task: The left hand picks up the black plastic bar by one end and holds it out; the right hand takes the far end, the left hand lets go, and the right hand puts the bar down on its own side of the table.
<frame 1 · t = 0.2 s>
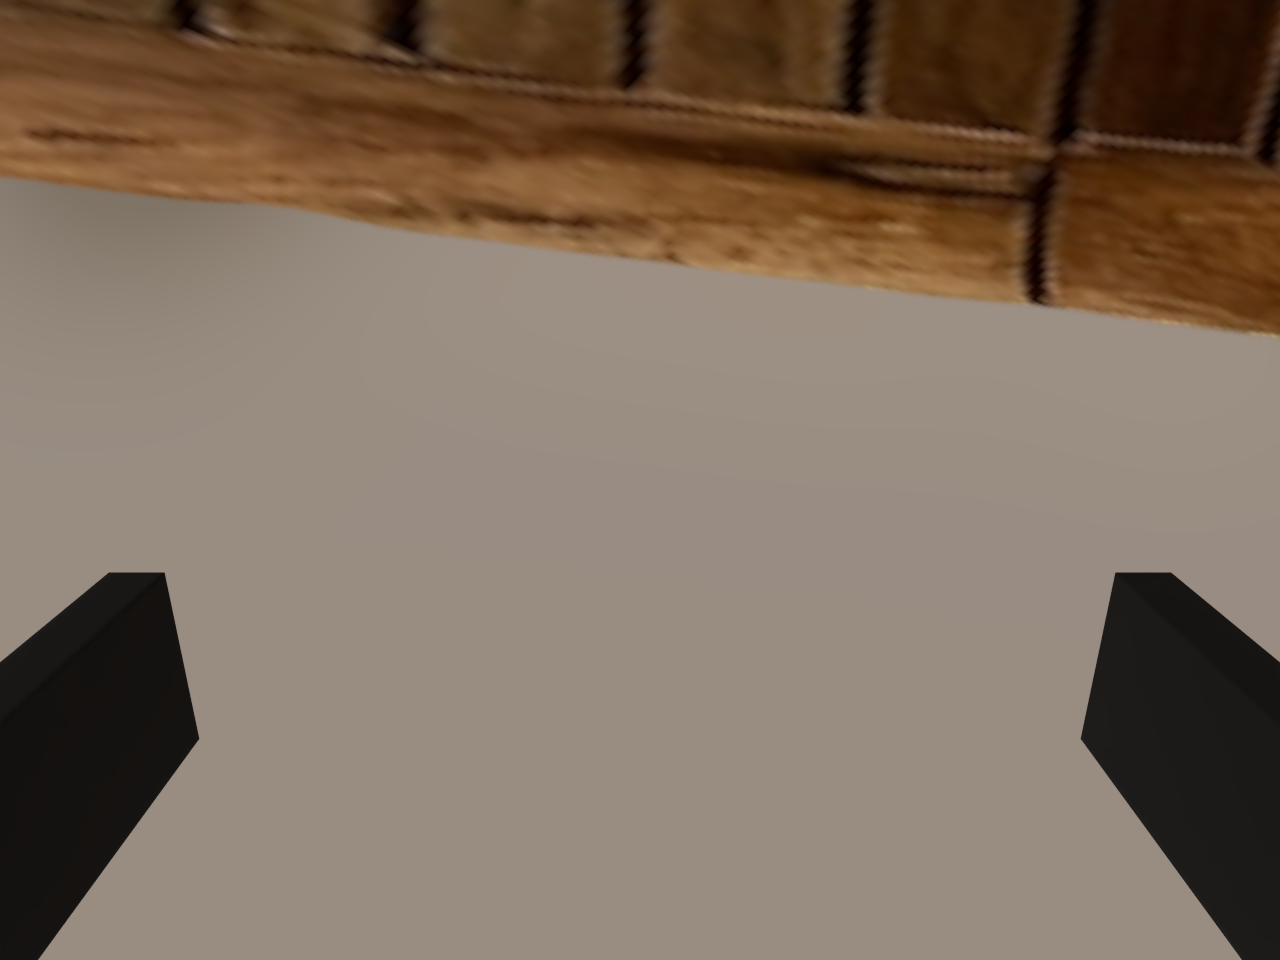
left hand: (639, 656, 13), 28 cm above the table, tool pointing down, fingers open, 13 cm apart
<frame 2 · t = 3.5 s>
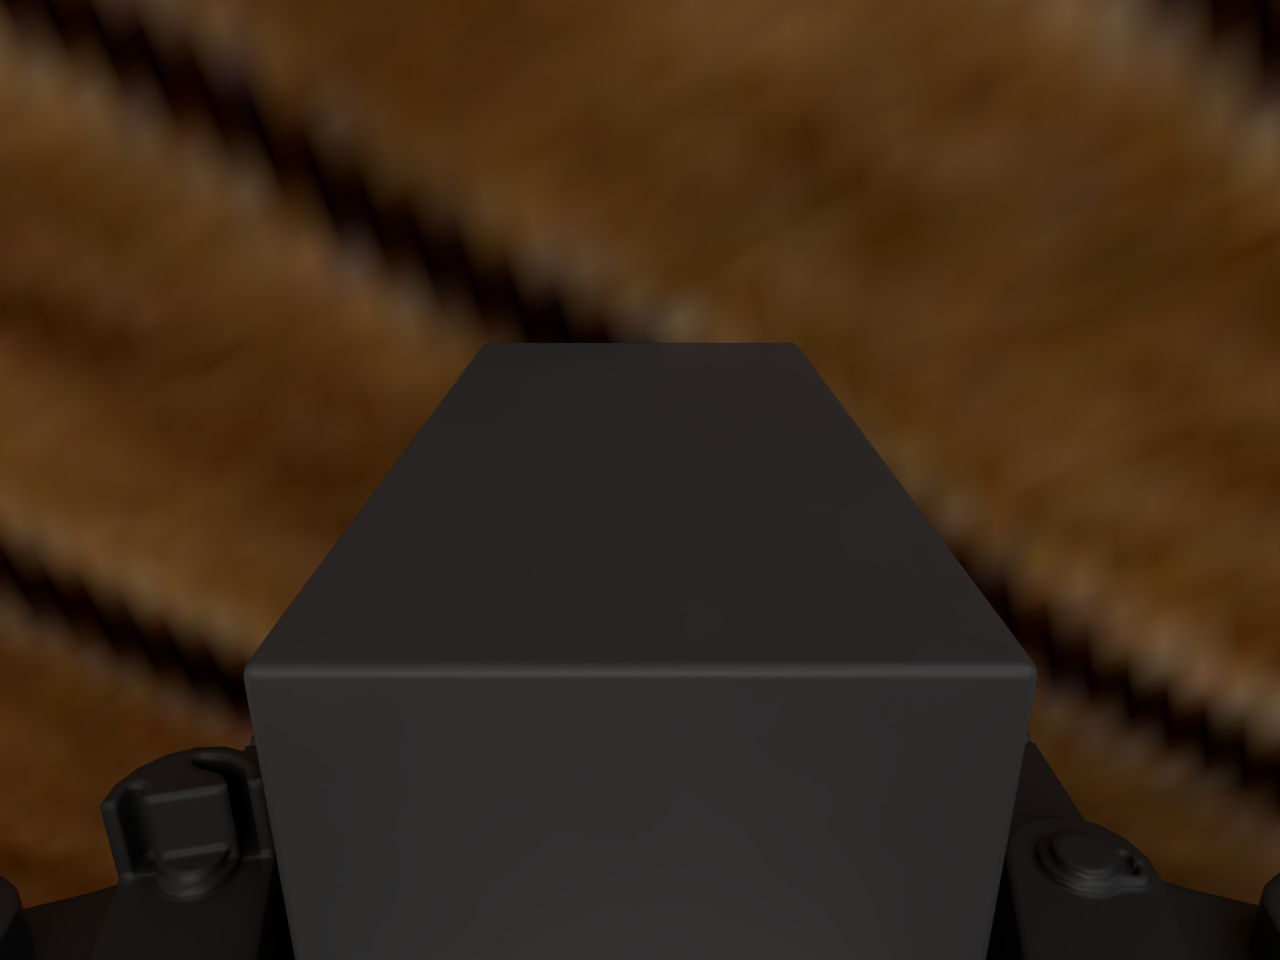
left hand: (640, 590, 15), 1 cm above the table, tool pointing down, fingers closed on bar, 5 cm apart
bar: (640, 944, 18), on the table, touching left hand
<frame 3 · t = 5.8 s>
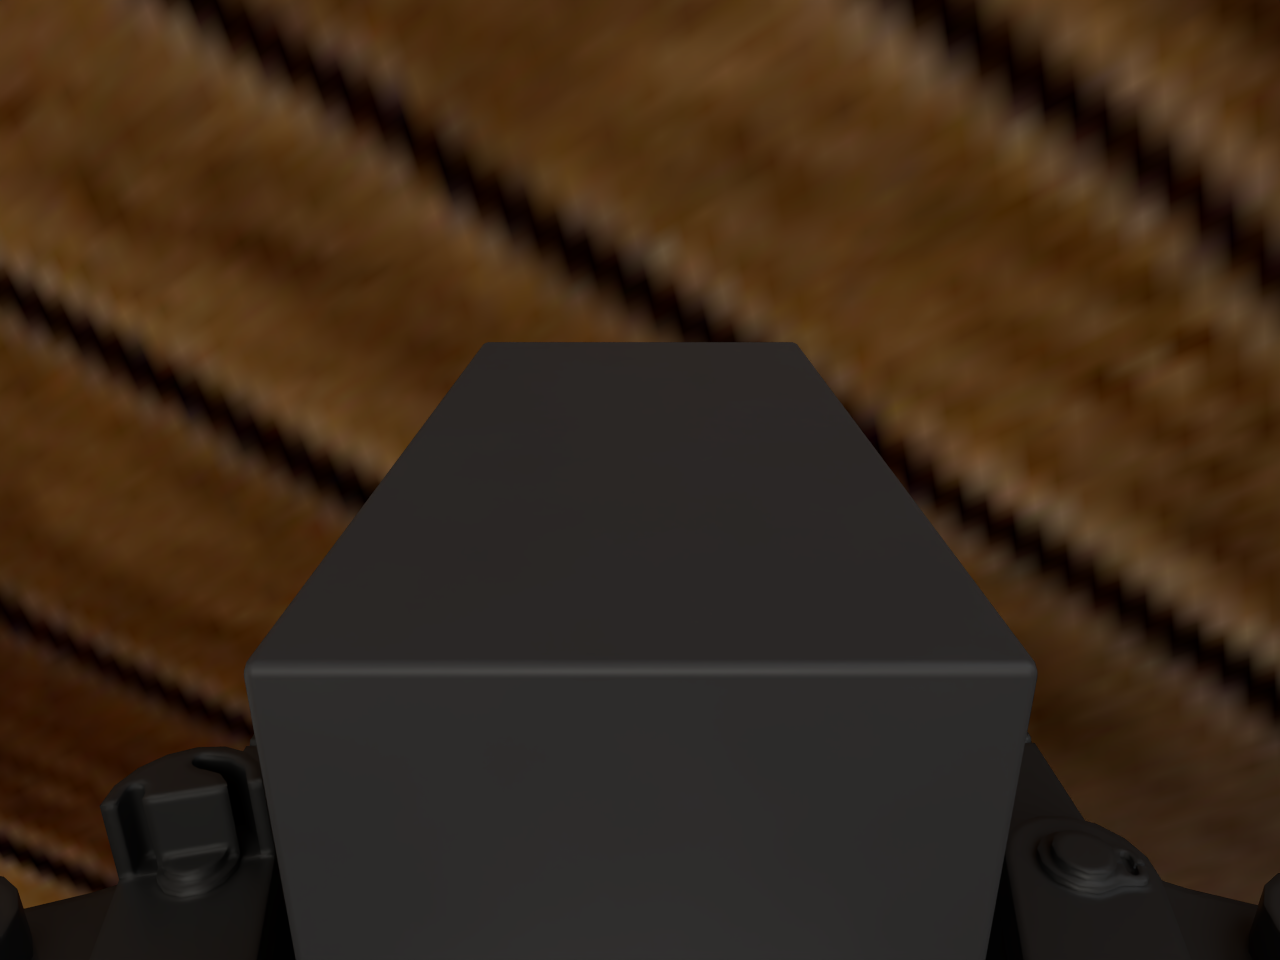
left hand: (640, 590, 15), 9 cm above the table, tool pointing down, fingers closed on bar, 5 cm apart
bar: (640, 944, 18), point 9 cm above the table, touching left hand
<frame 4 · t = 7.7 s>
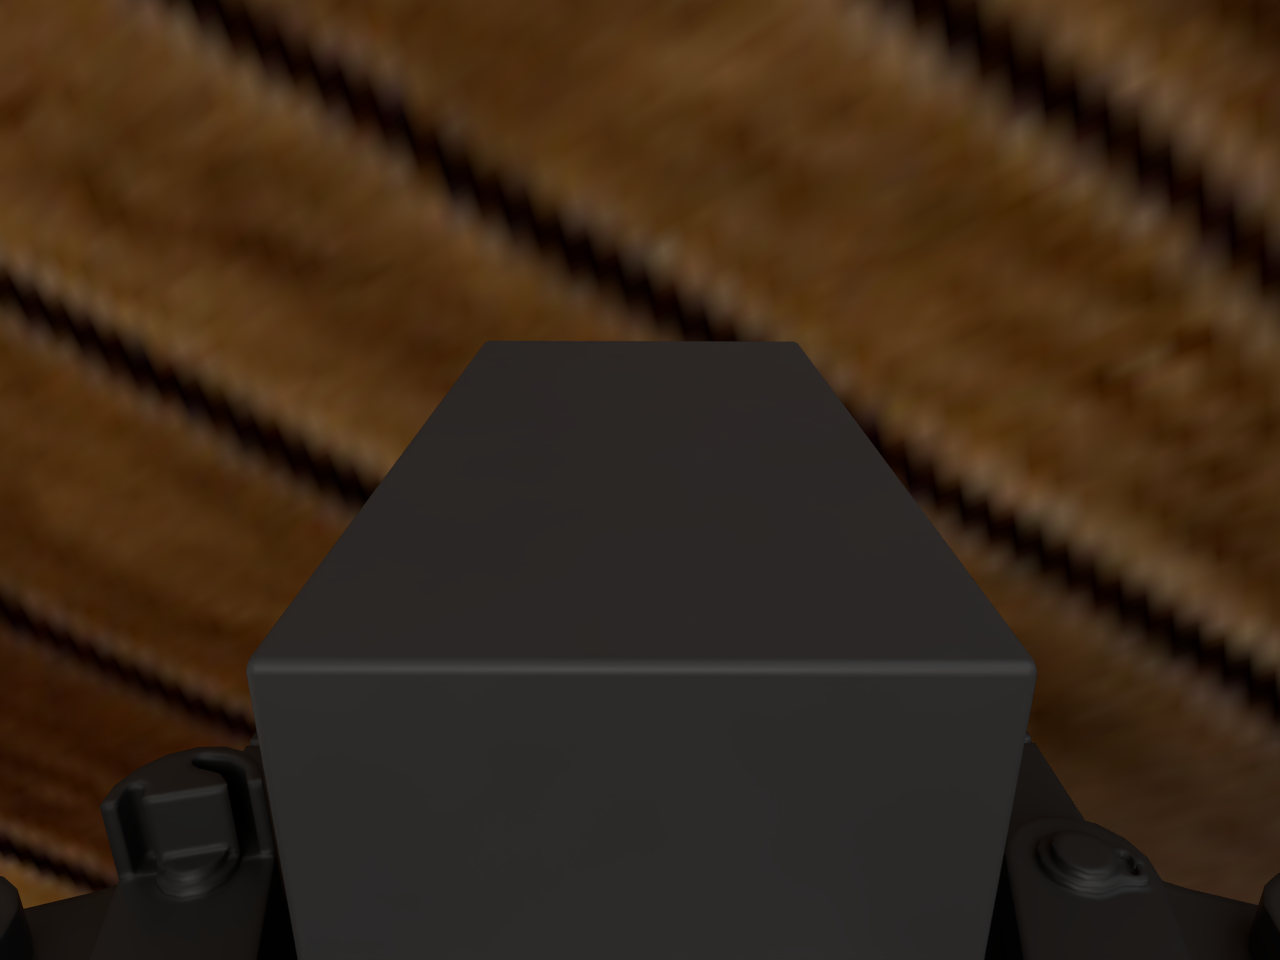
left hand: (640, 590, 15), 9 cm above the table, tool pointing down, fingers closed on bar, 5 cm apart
bar: (639, 942, 18), point 9 cm above the table, touching left hand, right hand
when the left hand's fingers open (9 cm above the table, at t = 8.4 s): bar stays where it is, held by the right hand.
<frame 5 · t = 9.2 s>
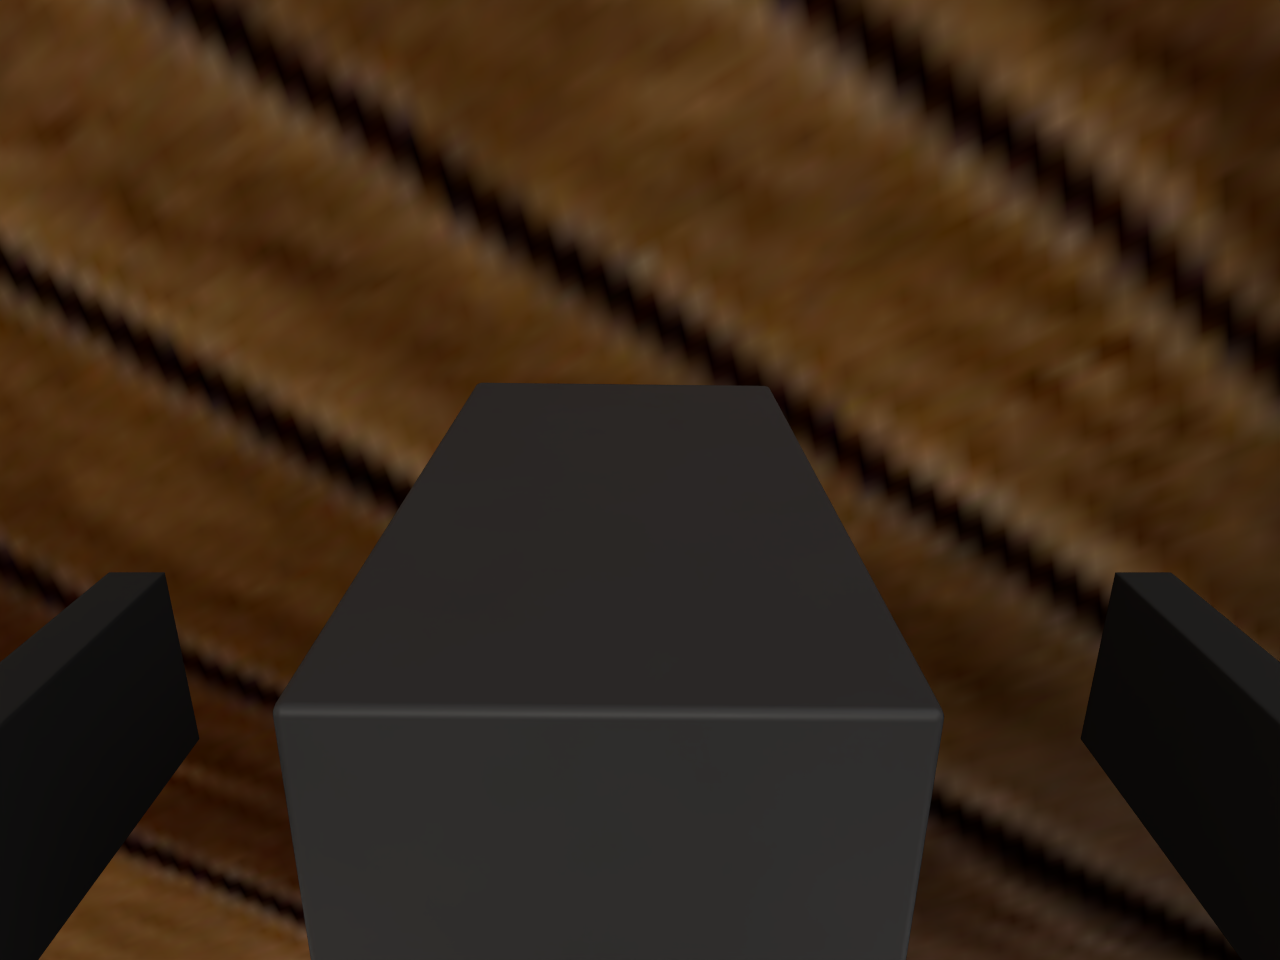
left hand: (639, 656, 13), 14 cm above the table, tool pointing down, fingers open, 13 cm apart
bar: (619, 946, 19), point 11 cm above the table, touching right hand
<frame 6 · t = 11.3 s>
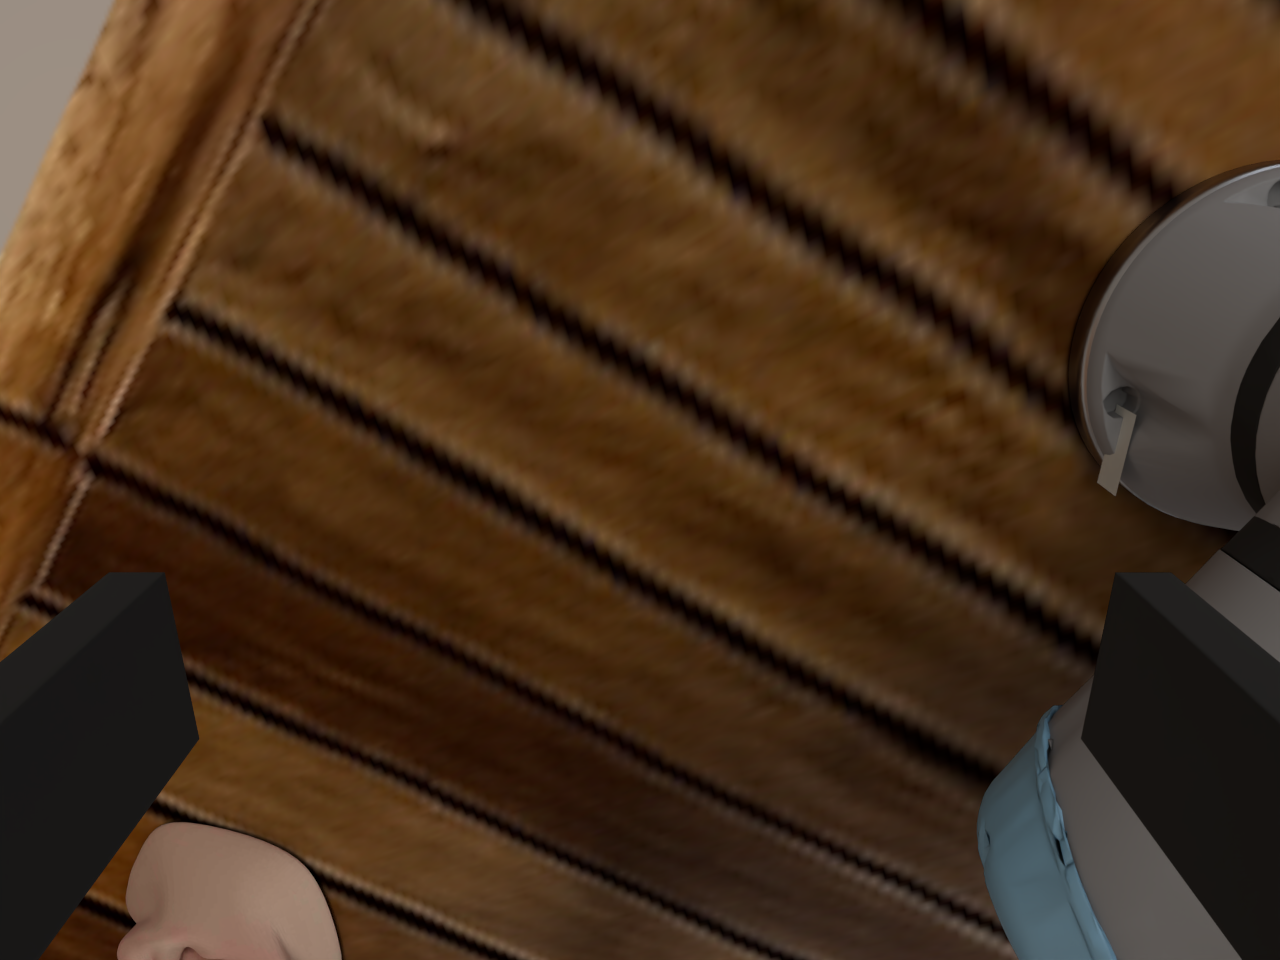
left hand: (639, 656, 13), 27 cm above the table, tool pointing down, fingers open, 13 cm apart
anatomical model: (236, 914, 50), on the table
when the right hand's fingers open (6 cm above the table, at t = 15.4 s): bar drops 1 cm, on the table.
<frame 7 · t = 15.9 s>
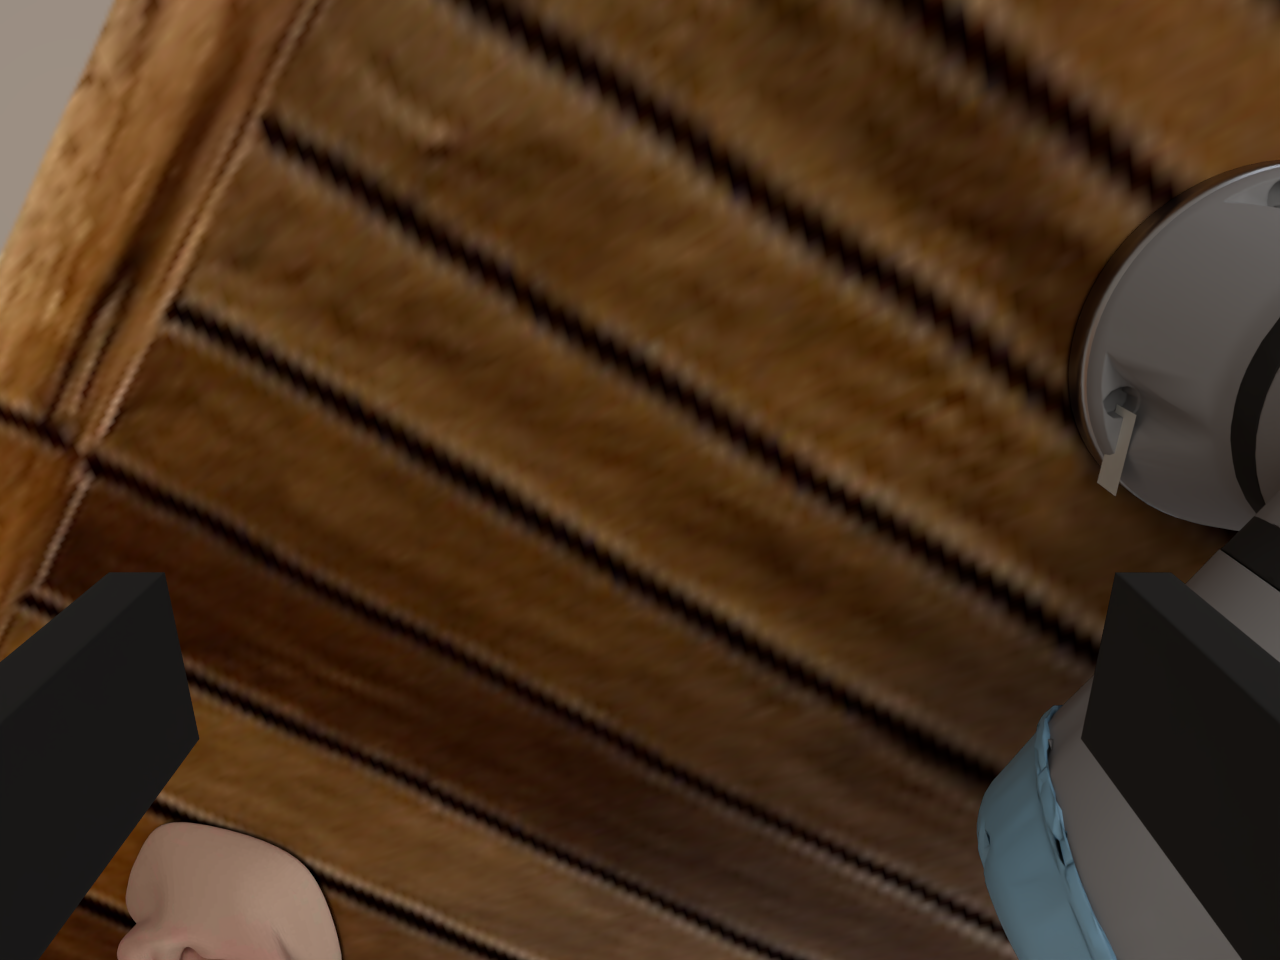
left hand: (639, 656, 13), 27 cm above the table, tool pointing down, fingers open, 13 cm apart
anatomical model: (236, 914, 50), on the table
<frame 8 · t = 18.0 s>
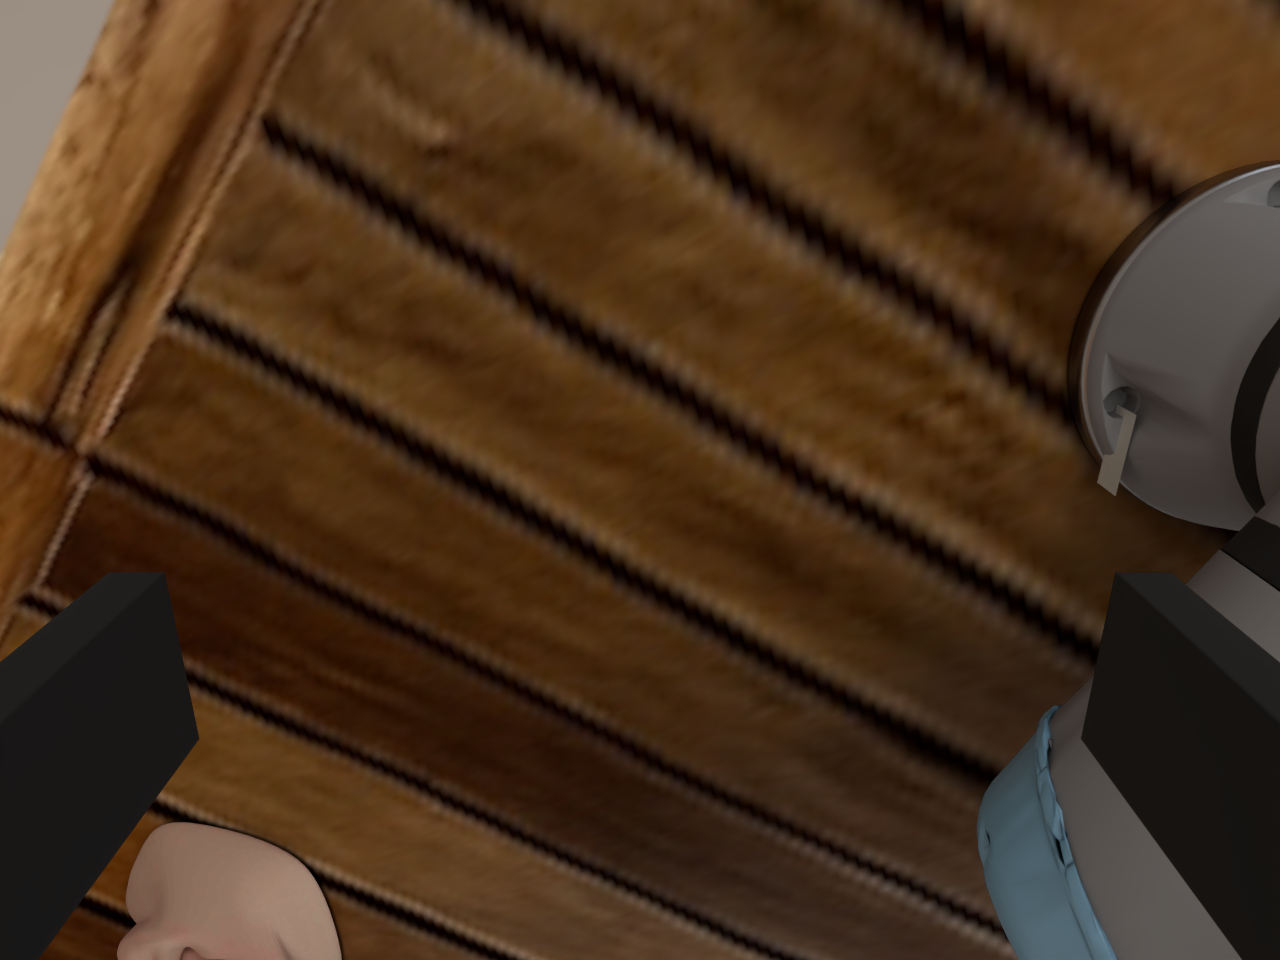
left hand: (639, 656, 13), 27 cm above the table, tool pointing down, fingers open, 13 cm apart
anatomical model: (236, 914, 50), on the table
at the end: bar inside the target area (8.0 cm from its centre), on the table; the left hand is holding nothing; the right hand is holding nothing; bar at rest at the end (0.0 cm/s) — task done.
